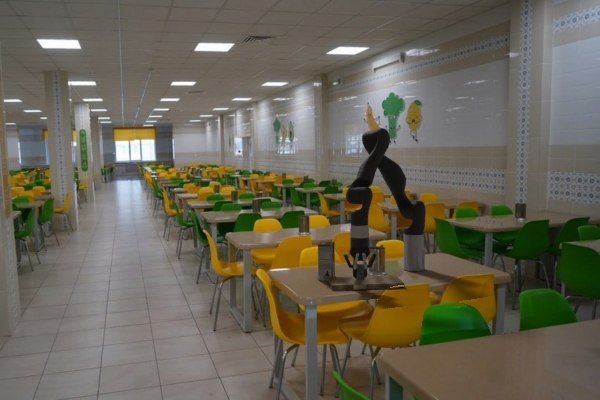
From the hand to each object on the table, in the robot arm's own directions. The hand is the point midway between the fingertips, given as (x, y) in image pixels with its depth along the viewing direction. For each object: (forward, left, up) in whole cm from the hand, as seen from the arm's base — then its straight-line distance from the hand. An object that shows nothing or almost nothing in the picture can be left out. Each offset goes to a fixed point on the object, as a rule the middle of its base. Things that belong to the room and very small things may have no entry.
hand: (359, 277), depth 214 cm
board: (-4, -8, -5) cm, 10 cm away
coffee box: (+11, -22, -5) cm, 25 cm away
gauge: (0, -5, -5) cm, 7 cm away
